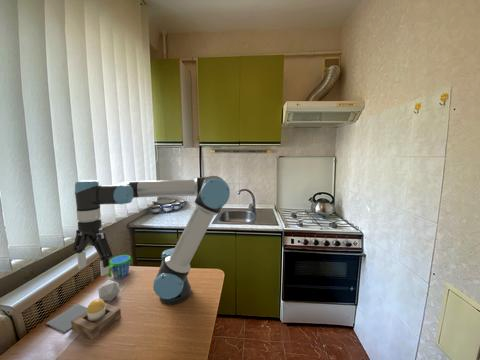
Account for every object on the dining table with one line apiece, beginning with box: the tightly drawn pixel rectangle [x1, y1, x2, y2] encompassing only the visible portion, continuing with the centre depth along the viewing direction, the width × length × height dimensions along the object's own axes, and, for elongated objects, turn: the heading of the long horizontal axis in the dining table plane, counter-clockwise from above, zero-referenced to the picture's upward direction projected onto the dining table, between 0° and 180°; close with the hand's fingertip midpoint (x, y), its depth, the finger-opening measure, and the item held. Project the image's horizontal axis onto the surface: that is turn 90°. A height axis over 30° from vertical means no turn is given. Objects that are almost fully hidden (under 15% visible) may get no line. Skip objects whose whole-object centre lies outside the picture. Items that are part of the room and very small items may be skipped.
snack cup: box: [106, 254, 133, 280], centre depth 120 cm, size 16×10×10 cm
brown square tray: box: [71, 302, 122, 341], centre depth 86 cm, size 12×12×4 cm
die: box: [97, 279, 121, 302], centre depth 101 cm, size 8×9×10 cm
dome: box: [87, 298, 106, 323], centre depth 85 cm, size 6×6×7 cm
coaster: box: [45, 303, 88, 334], centre depth 89 cm, size 12×12×1 cm
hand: (93, 270), depth 84 cm, fingers open, 13 cm apart
